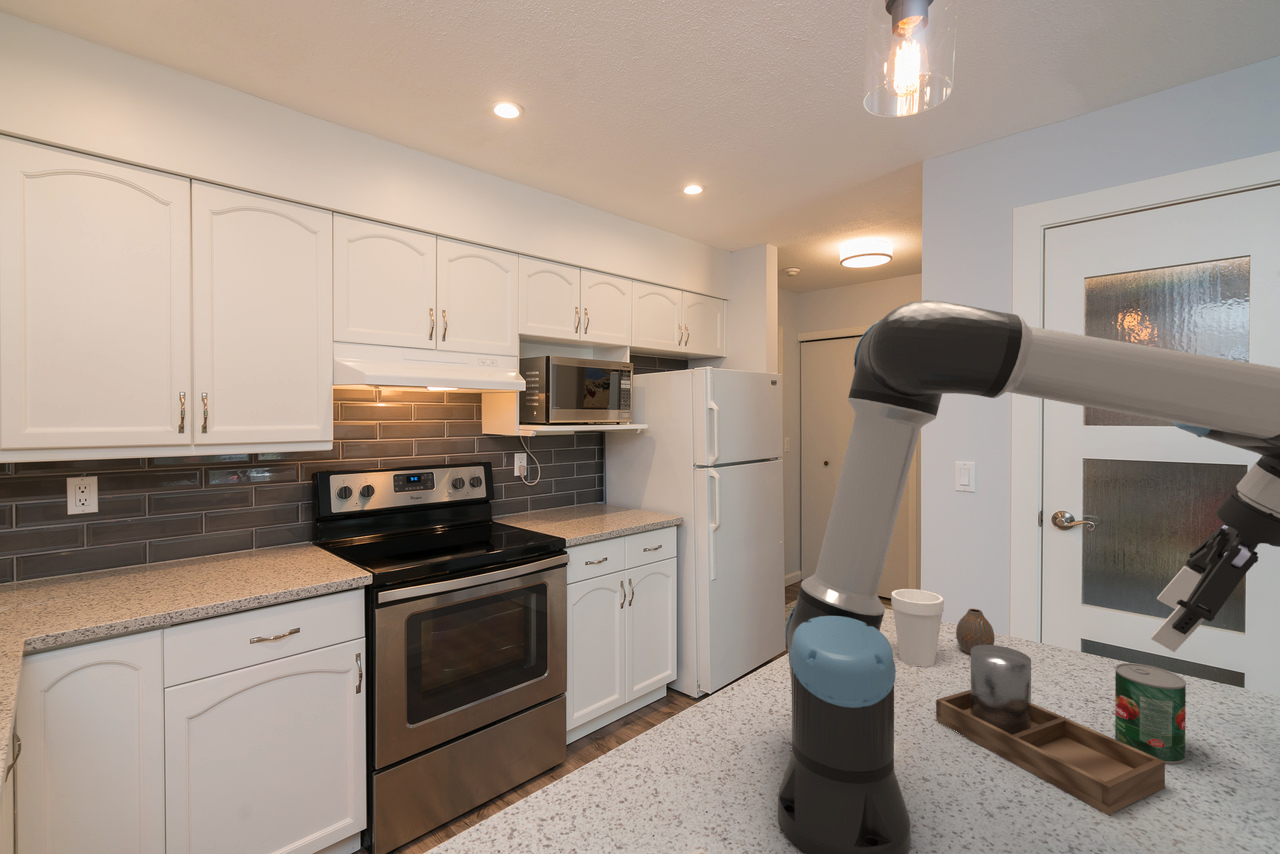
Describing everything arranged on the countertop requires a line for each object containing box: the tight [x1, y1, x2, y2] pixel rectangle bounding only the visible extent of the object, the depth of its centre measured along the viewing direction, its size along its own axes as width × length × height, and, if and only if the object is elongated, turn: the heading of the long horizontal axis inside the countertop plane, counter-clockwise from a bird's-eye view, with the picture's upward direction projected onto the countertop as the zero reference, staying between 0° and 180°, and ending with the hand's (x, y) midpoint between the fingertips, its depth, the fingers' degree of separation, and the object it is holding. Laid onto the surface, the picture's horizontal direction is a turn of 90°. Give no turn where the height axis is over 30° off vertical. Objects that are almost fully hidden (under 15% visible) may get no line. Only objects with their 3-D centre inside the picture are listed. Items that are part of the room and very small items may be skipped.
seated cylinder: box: [970, 644, 1032, 735], centre depth 91 cm, size 8×8×11 cm
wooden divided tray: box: [935, 689, 1166, 816], centre depth 86 cm, size 24×13×4 cm, turn 24°
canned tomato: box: [1114, 662, 1187, 765], centre depth 86 cm, size 8×8×11 cm
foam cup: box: [890, 588, 945, 668], centre depth 117 cm, size 10×9×13 cm
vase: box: [955, 608, 996, 656], centre depth 121 cm, size 7×7×9 cm
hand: (1164, 623), depth 85 cm, fingers open, 13 cm apart
